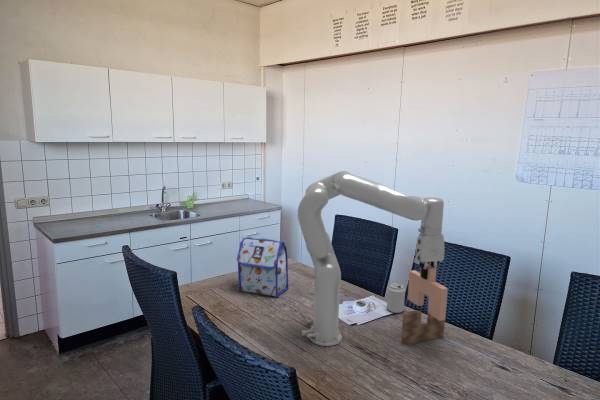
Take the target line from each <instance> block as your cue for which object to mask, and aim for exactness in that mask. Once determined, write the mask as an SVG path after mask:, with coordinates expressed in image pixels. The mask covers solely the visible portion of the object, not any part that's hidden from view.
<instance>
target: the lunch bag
mask: <svg viewBox="0 0 600 400" xmlns="http://www.w3.org/2000/svg"><path fill="white" fill-rule="evenodd" d="M287 251H288V250H287V246H286V243H285V242H284V241H280V240H279V241H278V240H275V239H268V238H254V237H250V236H248V237H243V238H242V240H240V242H239V249H238V252H237V257H236V261H237V271H238V272H237V273H238V274H237V275H238V291H239V292H244V291H245V292H246V293H251V292H252V293H251V294H260V295H265V296H271V297H276V298H279V297H280V295H282V294H283V293H284V292H285V291H287V290H289V288H290V287H289V269H288V268H289V264H288V261H289V260H288V252H287Z"/></svg>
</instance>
